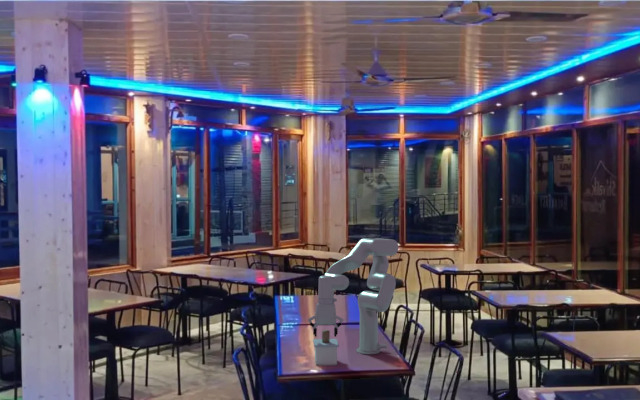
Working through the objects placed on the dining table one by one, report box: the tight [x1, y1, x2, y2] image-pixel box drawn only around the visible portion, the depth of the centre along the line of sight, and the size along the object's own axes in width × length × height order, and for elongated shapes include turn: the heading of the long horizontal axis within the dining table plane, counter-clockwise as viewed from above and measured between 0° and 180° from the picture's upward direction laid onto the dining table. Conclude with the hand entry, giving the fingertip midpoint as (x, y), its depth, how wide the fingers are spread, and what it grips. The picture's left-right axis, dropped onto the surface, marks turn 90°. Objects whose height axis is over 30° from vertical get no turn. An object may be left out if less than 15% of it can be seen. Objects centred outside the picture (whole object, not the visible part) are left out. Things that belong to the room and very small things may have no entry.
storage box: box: [314, 346, 338, 367], centre depth 298 cm, size 10×10×9 cm
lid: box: [312, 329, 340, 348], centre depth 298 cm, size 12×12×6 cm
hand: (325, 336), depth 298 cm, fingers open, 9 cm apart
